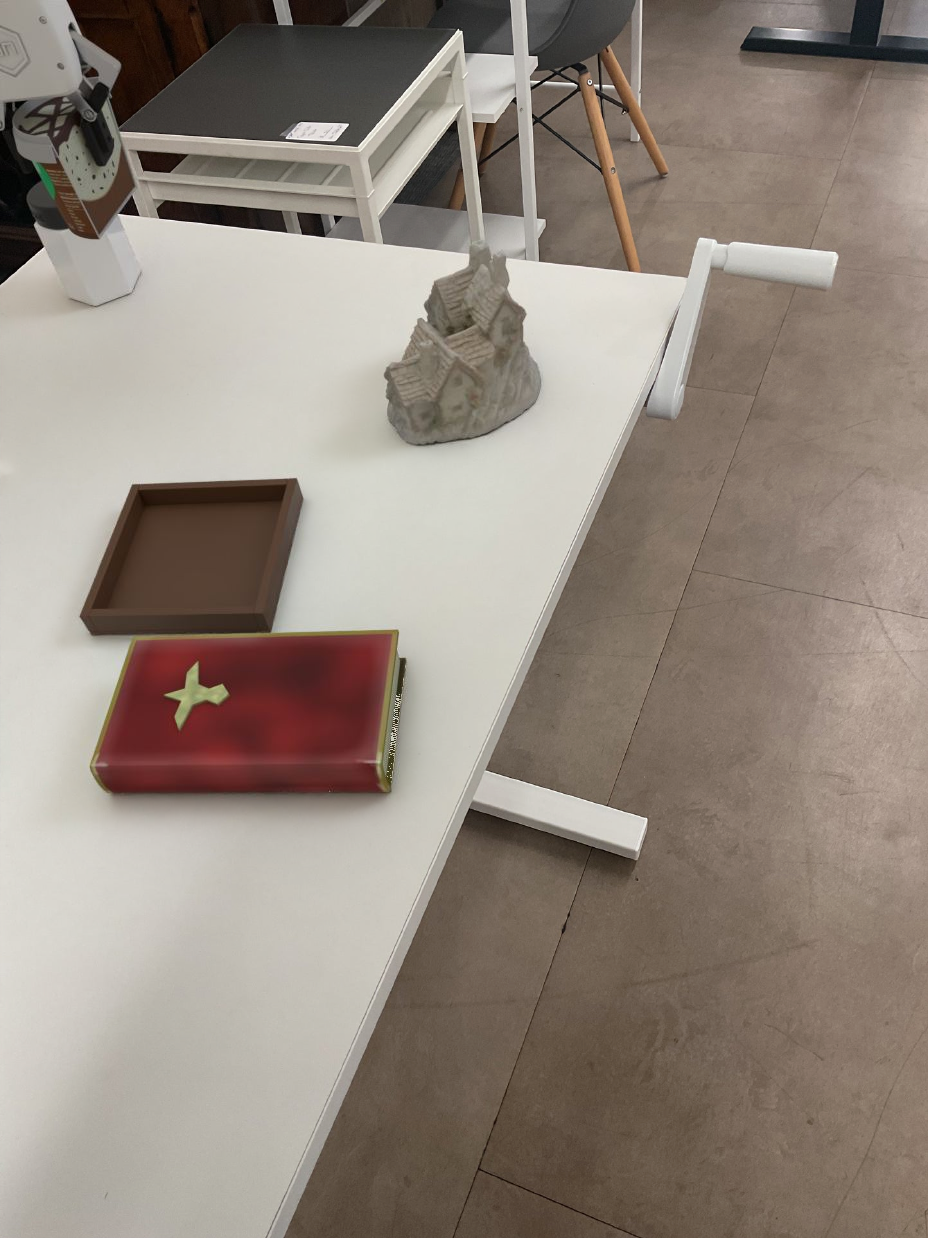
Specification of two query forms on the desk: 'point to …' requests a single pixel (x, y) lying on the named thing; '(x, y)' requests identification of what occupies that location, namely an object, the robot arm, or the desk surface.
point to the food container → (74, 163)
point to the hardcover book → (253, 714)
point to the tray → (195, 558)
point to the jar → (84, 254)
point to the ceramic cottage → (464, 358)
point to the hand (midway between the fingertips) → (68, 160)
